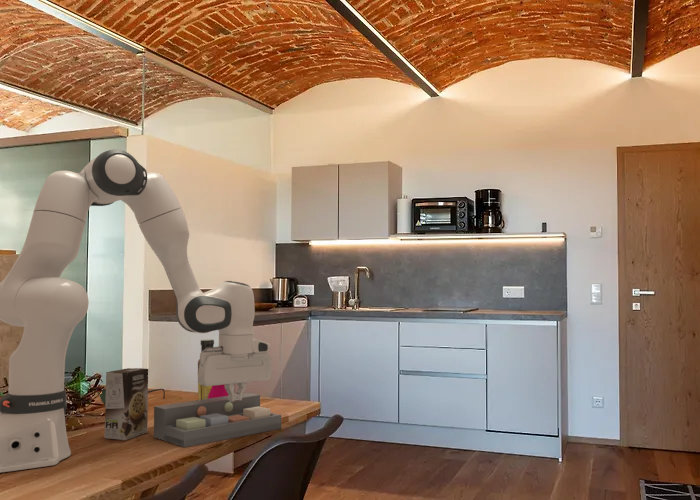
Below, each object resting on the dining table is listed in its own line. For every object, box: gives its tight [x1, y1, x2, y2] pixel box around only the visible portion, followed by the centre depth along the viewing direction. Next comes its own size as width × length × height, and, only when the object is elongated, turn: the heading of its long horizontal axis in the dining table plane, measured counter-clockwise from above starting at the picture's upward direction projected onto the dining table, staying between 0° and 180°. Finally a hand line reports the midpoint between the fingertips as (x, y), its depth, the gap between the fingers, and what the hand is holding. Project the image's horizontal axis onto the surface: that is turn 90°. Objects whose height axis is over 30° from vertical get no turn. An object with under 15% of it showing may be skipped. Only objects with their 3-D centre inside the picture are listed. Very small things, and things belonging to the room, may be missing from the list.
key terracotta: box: [228, 415, 250, 423], centre depth 175 cm, size 5×5×2 cm
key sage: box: [176, 417, 206, 430], centre depth 166 cm, size 5×5×2 cm
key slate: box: [200, 413, 228, 427], centre depth 170 cm, size 5×5×2 cm
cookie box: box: [104, 367, 149, 441], centre depth 172 cm, size 9×6×16 cm
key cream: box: [243, 406, 271, 419], centre depth 180 cm, size 5×5×2 cm
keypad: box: [153, 392, 282, 448], centre depth 175 cm, size 28×14×8 cm, turn 134°
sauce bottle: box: [197, 338, 215, 400], centre depth 213 cm, size 7×6×20 cm
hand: (235, 401), depth 174 cm, fingers closed
